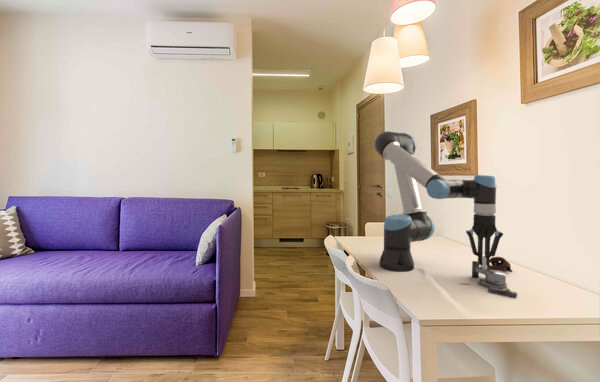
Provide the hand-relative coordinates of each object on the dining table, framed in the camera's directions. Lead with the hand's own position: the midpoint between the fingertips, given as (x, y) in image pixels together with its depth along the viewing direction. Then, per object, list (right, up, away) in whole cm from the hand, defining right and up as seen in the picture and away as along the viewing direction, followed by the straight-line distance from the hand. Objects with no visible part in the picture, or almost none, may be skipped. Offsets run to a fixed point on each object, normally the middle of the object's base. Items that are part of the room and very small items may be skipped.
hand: (483, 273), depth 128 cm
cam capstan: (-2, -2, -6) cm, 7 cm away
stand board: (-3, -3, -9) cm, 10 cm away
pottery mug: (+12, -3, +10) cm, 16 cm away
